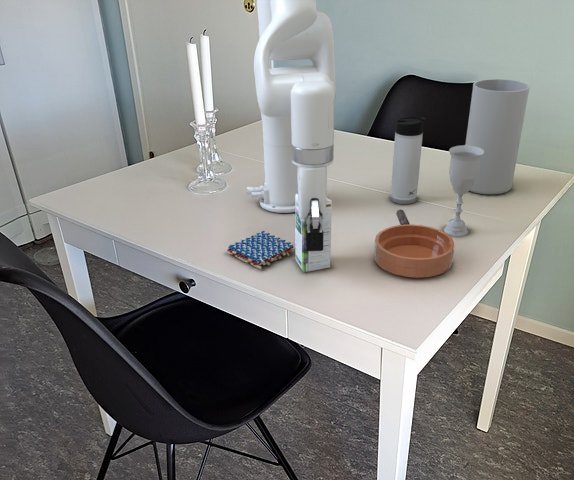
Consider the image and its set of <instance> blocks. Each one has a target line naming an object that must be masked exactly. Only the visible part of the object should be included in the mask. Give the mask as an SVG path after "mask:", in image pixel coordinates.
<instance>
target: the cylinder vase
mask: <svg viewBox="0 0 574 480" xmlns="http://www.w3.org/2000/svg"><path fill="white" fill-rule="evenodd" d="M530 88H531V86H530V84H528V83H526V82H523V81H520V80H514V79H513V80H512V79H505V78H492V79H491V78H490V79H480V80H477V81H475V82H474V83H472V92H471V98H470V99H471V100H470V106H469V114H468V115H469V116H468V123H467V128H466V129H467V130H466V137H465V144H464V145H466V146H475V147H479V148H481V149H483V150H484V153H483V155H482V156H481V158H480V165H479V172H478V176H477V178H476V180H475V182H474V184H473V185H472V187H471V188H470V190H469V191H468V192H472V193H475V194H480V195H489V196H490V195H491V196H492V195H493V196H494V195H501V194H504V193H507V192H508V191H510V190H511V189H512V187H513V182H514V176H515V171H516V165H517V160H518V155H519V148H520V144H521V137H522V133H523V128H524V127H523V126H524V121H525V115H526V110H527V105H528V99H529V93H530Z"/></svg>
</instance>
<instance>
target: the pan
mask: <svg viewBox="0 0 574 480" xmlns="http://www.w3.org/2000/svg"><path fill="white" fill-rule="evenodd" d="M454 251H455V240H454V239H453V237H452V236H451V235H449V234H447V233H445V232H444V230H441V229H438V228H436V227H433V226H427V225H422V224H411V223H410V224H409V225H401V224H399V225H398V224H397V225H392V226H389V227H386V228H383V229H382V230H381V231H379V232H378V233H377V235H375V240H374V254H373V256H374V257H373V258H374V261H375V263H376V265H378V266H379V267H380V268H382V269H383V270H384V271H386V272H388V273H391V274H393V275H397V276H400V277H401V276H402V277H404V278H429V277H435V276H438V275H441V274H443V273H445V272H447V271H448V270H449V269H450V268H451V266H452V265H453V259H454Z"/></svg>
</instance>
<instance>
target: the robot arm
mask: <svg viewBox="0 0 574 480" xmlns="http://www.w3.org/2000/svg"><path fill="white" fill-rule="evenodd" d="M256 8H257V9H256V11H257V23H258V35H259V40H258V42H257V45H256V48H255V51H254V55H253V56H254V57H253V73H254V81H255V82H254V83H255V93H256V94H255V95H256V100H257V103H258V104H257V105H258V108H259V110H260V116H261V125H262V126H261V127H262V143H263V147H262V148H263V167H264V182H263V185H259V186H257V187H256V186H246V195H247V196H251V199H257V198H259V206H260V207H261V208H262V209H264V210H265V211H268V212H272V213H278V214H289V213H295V195H296V194H298V212H299V218H300V219H303V218H306V217H307V231H306V250H307V251H322V250H323V230H322V219H323V218H324V217H325V213H326V196H327V197H328V195H327V194H328V193H327V192H328V191H327V190H328V166H330V165H332V164H334V161H335V160H334V159H335V158H334V156H335V153H334V152H335V151H334V149H335V101H336V96H337V81H336V79H337V78H336V55H335V37H334V28H333V25H332V24H333V23H332V21H331V19H330V17H329V16H328V15H327V14H326V13H324V12H322V11H318V7H317V0H256ZM300 60H310V61H311V63H312V65H302V66H299V65H298V66H296V65H295V66H282V67H281V66H280V67H273V68H270V61H275V62H276V61H278V62H279V61H281V62H282V61H300ZM310 200H311V202H310ZM309 213H310V214H312V215H309ZM310 220H312V222H311V223H310Z"/></svg>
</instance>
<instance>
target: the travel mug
mask: <svg viewBox="0 0 574 480" xmlns="http://www.w3.org/2000/svg"><path fill="white" fill-rule="evenodd" d="M424 123H426V117H425V116H406V117H402V118H399V119H397V121H396V122H395V133H394V143H393V159H392V173H391V187H390V201H392V202H393V203H395V204H398V205H411V204H414V203H415V202H416V201H417V199H418V188H419V180H420V179H419V178H420V166H421V158H422V157H421V156H422V145H423V134H424Z"/></svg>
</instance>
